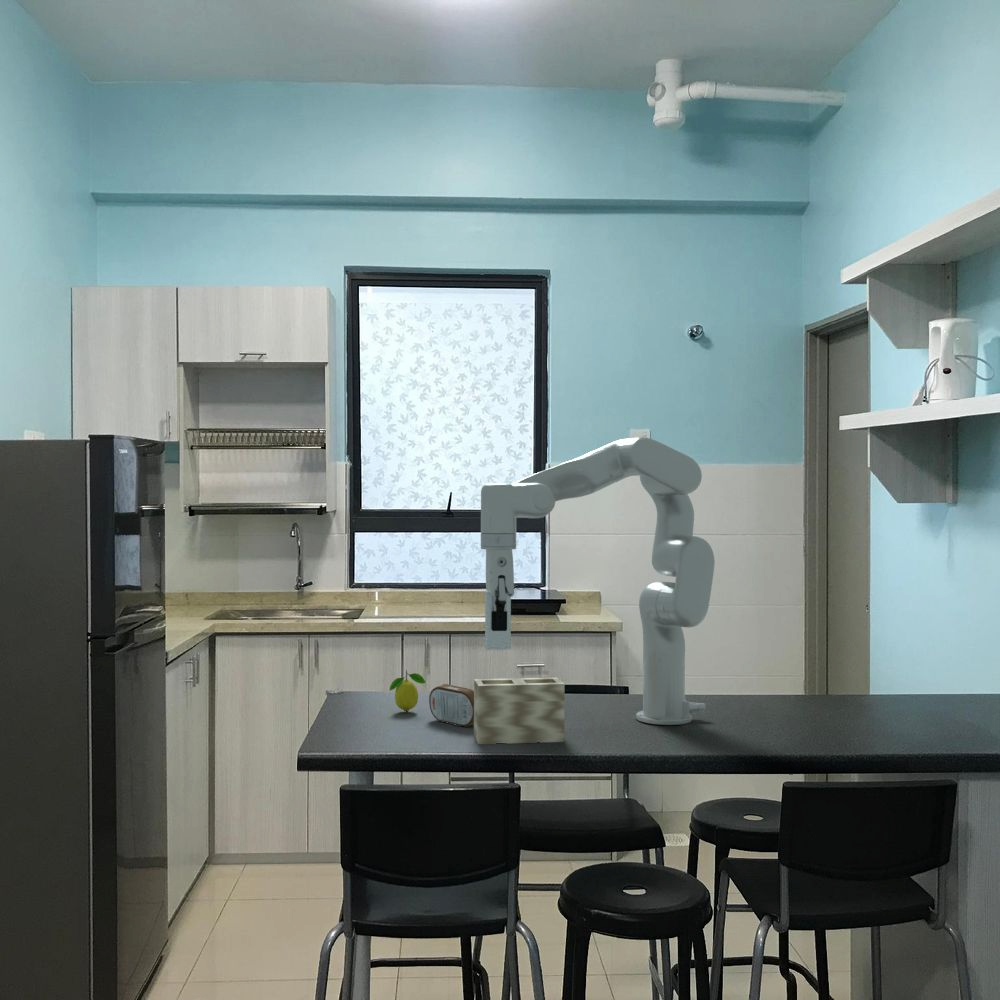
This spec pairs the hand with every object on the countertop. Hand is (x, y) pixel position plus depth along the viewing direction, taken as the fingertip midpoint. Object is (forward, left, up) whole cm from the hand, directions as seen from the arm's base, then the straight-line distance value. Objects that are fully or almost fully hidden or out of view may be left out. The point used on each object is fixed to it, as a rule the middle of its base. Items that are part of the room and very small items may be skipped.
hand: (498, 628), depth 210 cm
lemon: (+18, -30, -23) cm, 42 cm away
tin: (+8, -16, -24) cm, 29 cm away
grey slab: (0, 0, -4) cm, 4 cm away
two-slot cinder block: (-4, 0, -23) cm, 24 cm away
